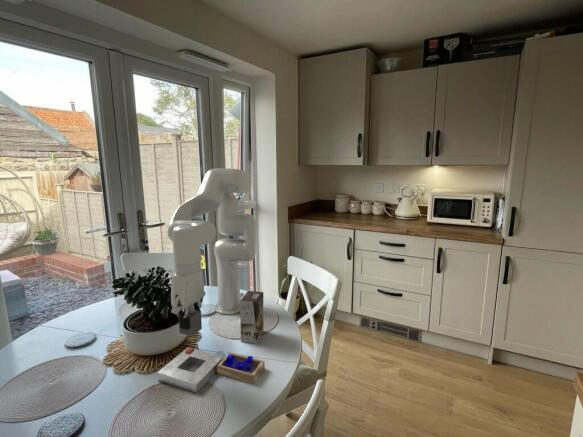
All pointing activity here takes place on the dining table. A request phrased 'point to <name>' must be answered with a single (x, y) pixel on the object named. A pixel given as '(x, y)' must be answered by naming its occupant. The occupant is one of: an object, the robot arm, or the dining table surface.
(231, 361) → the cable holder
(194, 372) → the socket plate
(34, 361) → the dining table surface
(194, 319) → the plug
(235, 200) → the robot arm
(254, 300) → the coffee box
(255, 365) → the tidy tray
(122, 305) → the dining table surface
